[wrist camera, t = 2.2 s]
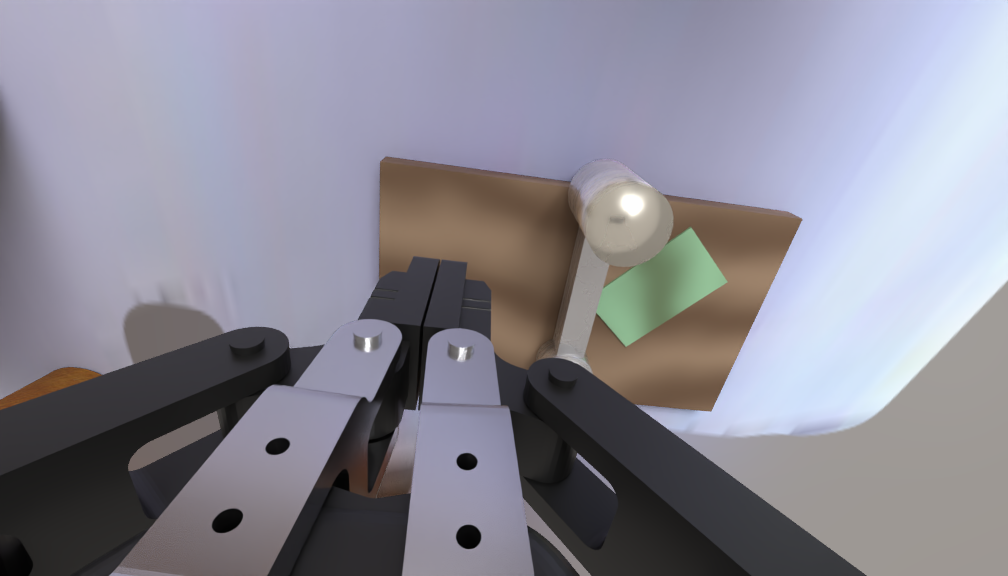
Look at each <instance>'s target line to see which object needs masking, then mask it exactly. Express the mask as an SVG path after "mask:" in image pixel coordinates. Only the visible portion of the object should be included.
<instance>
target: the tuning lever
mask: <svg viewBox="0 0 1008 576" xmlns="http://www.w3.org/2000/svg"><path fill="white" fill-rule="evenodd" d="M568 203H569V206H570V209H571V211H572V213H573V215H574V217H575V218H576V220H577V222H578V224H579V228H578V232H577V237H576V241H575V245H574V250H573V254H572V258H571V263H570V267H569V272H568V276H567V280H566V285H565V289H564V293H563V298H562V302H561V306H560V311H559V315H558V319H557V324H556V328H555V332H554V337H553V339H551V340H549V341H547V342H546V343H544V344H543V345H542V346H541V347H540V349H539V350H538V352H537V356H536V361H538V360H540V359H544V358H561V359H566V360H570V361H572V362H575V363H577V364H579V365H581V366H582V367H584V368H585V369H586V370H588V371H589V372H591V373H592V369H591V366H590V363H589V360H588V357H587V354H586V348H587V344H588V340H589V337H590V333H591V330H592V326H593V322H594V319H595V315H596V311H597V308H598V304H599V301H600V297H601V293H602V290H603V286H604V282H605V279H606V275H607V271H608V268H609V264H610V265H613V266H618V267H631V266H636V265H639V264H642V263H644V262H646V261H648V260H650V259H651V258H653V257H654V256H656V255H657V254H658V253H659V252H660V251H661V250H662V249H663V248H664V246H665V245H666V243H667V242H668V240H669V238H670V235H671V233H672V229H673V212H672V209H671V206H670V204H669V202H668V201H667V199H666V198H665V197H664V196H663V195H662V194H661V193H660V192H658V191H657V190H656V189H655V188H653V187H652V186H651V185H649V184H648V183H647V182H646V181H644V180H643V179H642V178H640V177H639V176H638V175H637V174H635V173H634V172H633V171H631V170H630V169H629V168H627V167H626V166H625V165H624V164H622V163H620V162H618V161H616V160H612V159H599V160H595V161H592V162H590V163H588V164H586V165H585V166H583V167H582V168H581V169H580V170H579V171H578V172H577V173H576V174H575V176H574V177H573V179H572V181H571V183H570V186H569V189H568ZM592 374H593V373H592Z"/></svg>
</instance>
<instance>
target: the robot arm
mask: <svg viewBox="0 0 1008 576" xmlns="http://www.w3.org/2000/svg"><path fill="white" fill-rule="evenodd" d="M466 271H467V262H460V261H451V260H443V259H442V260H441V264H440V259H434V258H425V257H417V256H413V258H412V261H411V263H410V265H409V268H408V270H407V272H399V271H391V272H390V273H388V274H386V275H385V276H383V277H381V278H380V280H379V281H378V283H377V285H376V287H375V290H374V291H373V292H372V294H371V298H369V300H368V302H367V304H366V305H365V307H364V309H363V311H362V313H361V315H360V317H359V318H358V320H356V321H352V322H349V323H347V324H344V325H342V326H341V327H339V328H338V329H337V330H336V331H335V332H334V333H333V335H332V336H331V337H330V339H329V340H328V341H327V343H326V344H325V345H320V346H313V347H302V348H291V349H289V341H288V338H287V336H286V335H285V334H284V333H282V332H281V331H279V330H276V329H273V328H267V327H248V328H242V329H237V330H234V331H230V332H227V333H224V334H221V335H219V336H216V337H213V338H210V339H207V340H204V341H201V342H198V343H195V344H192V345H189V346H186V347H184V348H180V349H178V350H175V351H172V352H169V353H166V354H163V355H160V356H157V357H155V358H151V359H148V360H145V361H142V362H139V363H137V364H134V365H131V366H128V367H125V368H122V369H119V370H116V371H113V372H110V373H107V374H104V375H101V376H98V377H96V378H93V379H90V380H87V381H84V382H81V383H78V384H75V385H72V386H69V387H66V388H63V389H60V390H57V391H55V392H52V393H49V394H46V395H43V396H40V397H37V398H34V399H31V400H28V401H25V402H22V403H19V404H16V405H14V406H11V407H8V408H5V409H2V410H0V576H579V574H578V573H577V572H576V571H575V569H574V568H573V567H572V566H571V564H570V563H569V562H568V561H567V559H565V557H564V556H563V555H562V554H561V552H560V551H559V550H557V548H555V547H554V546H553V545H552V544H551V543H550V542H549V541H548V540H547V539H546V538H544V537H543V536H542V535H541V534H539V533H538V532H537V531H535V530H534V529H532V528H530V527H529V526H527V523H526V517H525V509H524V503H523V498H524V499H525V500H526V502H527V503H528V504H529V505H530V506H531V507H532V508H533V510H534V511H535V512H536V513H537V514H538V515H539V516H540V517H541V518H542V520H543V521H544V522H545V523H546V524H547V525H548V526H549V528H550V529H551V530H552V531H553V532H554V533H555V535H556V536H557V537H558V538H559V539H560V540H561V541H562V542H563V544H564V545H565V546H566V547H567V548H568V549H569V551H570V552H571V553H572V554H573V555H574V556H575V557H576V559H577V560H578V561H579V562H580V563H581V564H582V565H583V566H584V568H585V569H586V570H587V571H588V572H589V573H590V574H591V576H866V575H865V574H864V573H862V572H861V571H860V570H858V569H857V568H856V567H854V566H853V565H851V564H850V563H849V562H847V561H846V560H845V559H843V558H842V557H841V556H839V555H838V554H837V553H835V552H834V551H832V550H831V549H830V548H828V547H827V546H826V545H824V544H823V543H821V542H820V541H819V540H817V539H816V538H815V537H813V536H812V535H811V534H809V533H808V532H807V531H805V530H804V529H802V528H801V527H800V526H798V525H797V524H796V523H794V522H793V521H792V520H790V519H789V518H787V517H786V516H785V515H783V514H782V513H780V512H779V511H778V510H777V509H775V508H774V507H773V506H771V505H770V504H768V503H767V502H766V501H764V500H763V499H762V498H760V497H759V496H758V495H756V494H755V493H753V492H752V491H751V490H749V489H748V488H747V487H745V486H744V485H743V484H741V483H740V482H739V481H737V480H736V479H735V478H733V477H732V476H731V475H729V474H728V473H726V472H725V471H724V470H722V469H721V468H720V467H718V466H717V465H716V464H714V463H713V462H712V461H710V460H709V459H707V458H706V457H705V456H703V455H702V454H700V453H699V452H698V451H696V450H695V449H694V448H692V447H691V446H690V445H688V444H687V443H686V442H684V441H683V440H682V439H680V438H679V437H678V436H676V435H675V434H673V433H672V432H671V431H669V430H668V429H667V428H665V427H664V426H663V425H661V424H660V423H659V422H657V421H656V420H654V419H653V418H652V417H650V416H649V415H648V414H646V413H645V412H644V411H642V410H641V409H639V408H638V407H637V406H635V405H634V404H633V403H631V402H630V401H629V400H627V399H626V398H625V397H623V396H622V395H620V394H619V393H618V392H616V391H615V390H614V389H612V388H611V387H610V386H608V385H607V384H606V383H604V382H603V381H601V380H600V379H599V378H597V377H596V376H595V375H593V374H592V373H591V372H589V371H588V370H586V369H585V368H584V367H582V366H581V365H579V364H577V363H575V362H572V361H570V360H566V359H561V358H544V359H540V360H538V361H536V362H534V363H533V364H532V365H531V366H530V367H529V370H526V369H523V368H520V367H517V366H514V365H512V364H510V363H508V362H506V361H504V360H503V359H501V358H500V357H499V356H498V355H497V354H496V353H495V352H494V348H493V345H492V343H491V290H490V288H489V287H488V286H487V284H486V283H485V282H484V281H478V280H469V279H466ZM418 396H419V407H418V410H420V415H419V424H418V434H417V443H416V452H415V461H414V471H413V480H412V489H411V493H410V494H403V495H396V496H390V497H383V498H376V496H377V493H378V490H379V488H380V485H381V482H382V479H383V477H384V474H385V471H386V468H387V466H388V463H389V460H390V457H391V455H392V452H393V449H394V446H395V444H396V441H397V438H398V430H399V424H400V422H401V419H402V415H403V411H404V409H408V410H415V409H416V405H417V401H418ZM215 411H217V414H218V418H219V423H220V427H221V429H220V430H218V431H216V432H214V433H212V434H210V435H208V436H206V437H204V438H202V439H200V440H198V441H196V442H194V443H192V444H190V445H188V446H186V447H184V448H182V449H180V450H178V451H176V452H173V453H171V454H169V455H168V456H165V457H163V458H161V459H159V460H157V461H155V462H153V463H151V464H149V465H147V466H145V467H143V468H141V469H138V470H134V471H128V464H129V461H130V459H131V457H132V456H133V455H134V453H135V452H136V451H137V450H138V449H139V448H141V447H142V446H143V445H145V444H146V443H148V442H150V441H152V440H154V439H156V438H158V437H160V436H163V435H165V434H167V433H169V432H171V431H174V430H176V429H178V428H180V427H182V426H184V425H186V424H189V423H191V422H193V421H195V420H197V419H200V418H202V417H204V416H206V415H208V414H210V413H213V412H215ZM577 453H578V454H580V455H581V456H582V457H583V458H584V459H585V460H586V461H587V462H588V463H589V464H591V465H592V466H593V467H594V468H595V469H596V470H597V471H598V472H599V473H600V474H601V475H602V476H604V477H605V478H606V479H607V480H608V481H609V483H610V484H611V485H612V487H613V489H614V490H615V492H616V494H615V493H614V492H613V491H612V490H611V489H610V488H608V487H607V486H606V485H605V484H604V483H603V482H602V481H601V480H600V479H599V478H598V477H597V476H596V475H595V474H593V473H592V472H591V471H590V470H589V469H588V468H587V467H586V466H585V465H584V464H583V463H582V462H581V461H579V460H578V459H577V458H576V455H577Z"/></svg>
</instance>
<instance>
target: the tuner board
mask: <svg viewBox="0 0 1008 576" xmlns="http://www.w3.org/2000/svg"><path fill="white" fill-rule="evenodd" d="M570 183H571V182H567V181H560V180H553V179H545V178H538V177H531V176H524V175H516V174H509V173H502V172H494V171H487V170H480V169H473V168H465V167H458V166H451V165H443V164H436V163H429V162H422V161H414V160H407V159H400V158H392V157H385V158H384V159H383V160H381V161H380V247H379V280H380V278H381V277H383V276H385V275H386V274H388V273H390V272H391V271H399V272H407V270H408V268H409V265H410V263H411V261H412V258H413V256H417V257H425V258H434V259H440V264H441V260H442V259H443V260H451V261H460V262H467V271H466V279H469V280H478V281H484V282H485V283H486V284H487V286H488V287H489V288H490V290H491V343H492V345H493V348H494V352H495V353H496V354H497V355H498V356H499V357H500V358H501V359H503V360H504V361H506V362H508V363H510V364H512V365H514V366H517V367H520V368H523V369H526V370H529V367H530V366H531V365H532V364H533V363H534V362H536V356H537V352H538V350H539V349H540V347H541V346H542V345H543V344H544V343H546V342H547V341H549V340H551V339H553V337H554V332H555V328H556V324H557V319H558V315H559V311H560V306H561V302H562V298H563V293H564V289H565V285H566V280H567V276H568V272H569V267H570V263H571V258H572V254H573V250H574V245H575V241H576V237H577V232H578V228H579V224H578V222H577V220H576V218H575V217H574V215H573V213H572V211H571V209H570V206H569V203H568V189H569V186H570ZM663 196H664V197H665V198H666V199H667V201H668V202H669V204H670V206H671V209H672V212H673V229H672V233H671V235H670V238H669V240H668V242H667V243H666V245H665V246H664V248H663V249H662V250H661V251H660V252H659V253H658V254H657V255H656V256H654V257H653V258H651V259H650V260H648V261H646V262H644V263H642V264H639V265H636V266H631V267H618V266H613V265H610V264H609V268H608V271H607V275H606V279H605V282H604V286H603V290H602V293H601V297H600V301H599V304H598V308H597V311H596V315H595V319H594V322H593V326H592V330H591V333H590V337H589V340H588V344H587V348H586V354H587V357H588V360H589V363H590V366H591V369H592V373H593V375H595V376H596V377H597V378H599V379H600V380H601V381H603V382H604V383H606V384H607V385H608V386H610V387H611V388H612V389H614V390H615V391H616V392H618V393H619V394H620V395H622V396H623V397H625V398H626V399H627V400H629V401H630V402H631V403H633V404H638V405H648V406H658V407H669V408H679V409H690V410H700V411H712V409H713V407H714V404H715V402H716V400H717V398H718V396H719V394H720V392H721V390H722V388H723V385H724V383H725V381H726V379H727V377H728V375H729V373H730V371H731V369H732V366H733V364H734V362H735V360H736V358H737V356H738V354H739V352H740V350H741V348H742V345H743V343H744V341H745V339H746V337H747V335H748V333H749V331H750V329H751V326H752V324H753V322H754V320H755V318H756V316H757V314H758V312H759V310H760V307H761V305H762V303H763V301H764V299H765V297H766V295H767V293H768V291H769V289H770V286H771V284H772V282H773V280H774V278H775V276H776V274H777V272H778V270H779V267H780V265H781V263H782V261H783V259H784V257H785V255H786V253H787V251H788V249H789V246H790V244H791V242H792V240H793V238H794V236H795V234H796V232H797V230H798V227H799V225H800V223H801V221H802V219H801V218H799V217H797V216H795V215H793V214H791V213H789V212H786V211H779V210H771V209H764V208H757V207H750V206H742V205H735V204H728V203H720V202H713V201H706V200H699V199H691V198H684V197H677V196H669V195H663Z"/></svg>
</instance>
